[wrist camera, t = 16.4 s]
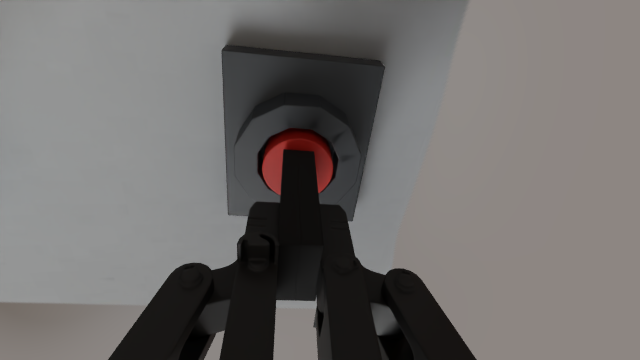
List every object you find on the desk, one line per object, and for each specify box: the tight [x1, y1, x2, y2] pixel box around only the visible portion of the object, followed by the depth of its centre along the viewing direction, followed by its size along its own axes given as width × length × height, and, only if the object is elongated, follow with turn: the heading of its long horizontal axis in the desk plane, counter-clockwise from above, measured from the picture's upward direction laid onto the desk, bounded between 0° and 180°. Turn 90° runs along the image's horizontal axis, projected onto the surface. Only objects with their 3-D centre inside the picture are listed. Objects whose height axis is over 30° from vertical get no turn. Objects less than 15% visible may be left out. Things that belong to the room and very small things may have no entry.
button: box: [262, 128, 333, 195], centre depth 18 cm, size 4×4×2 cm
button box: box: [222, 45, 385, 221], centre depth 19 cm, size 10×8×3 cm
